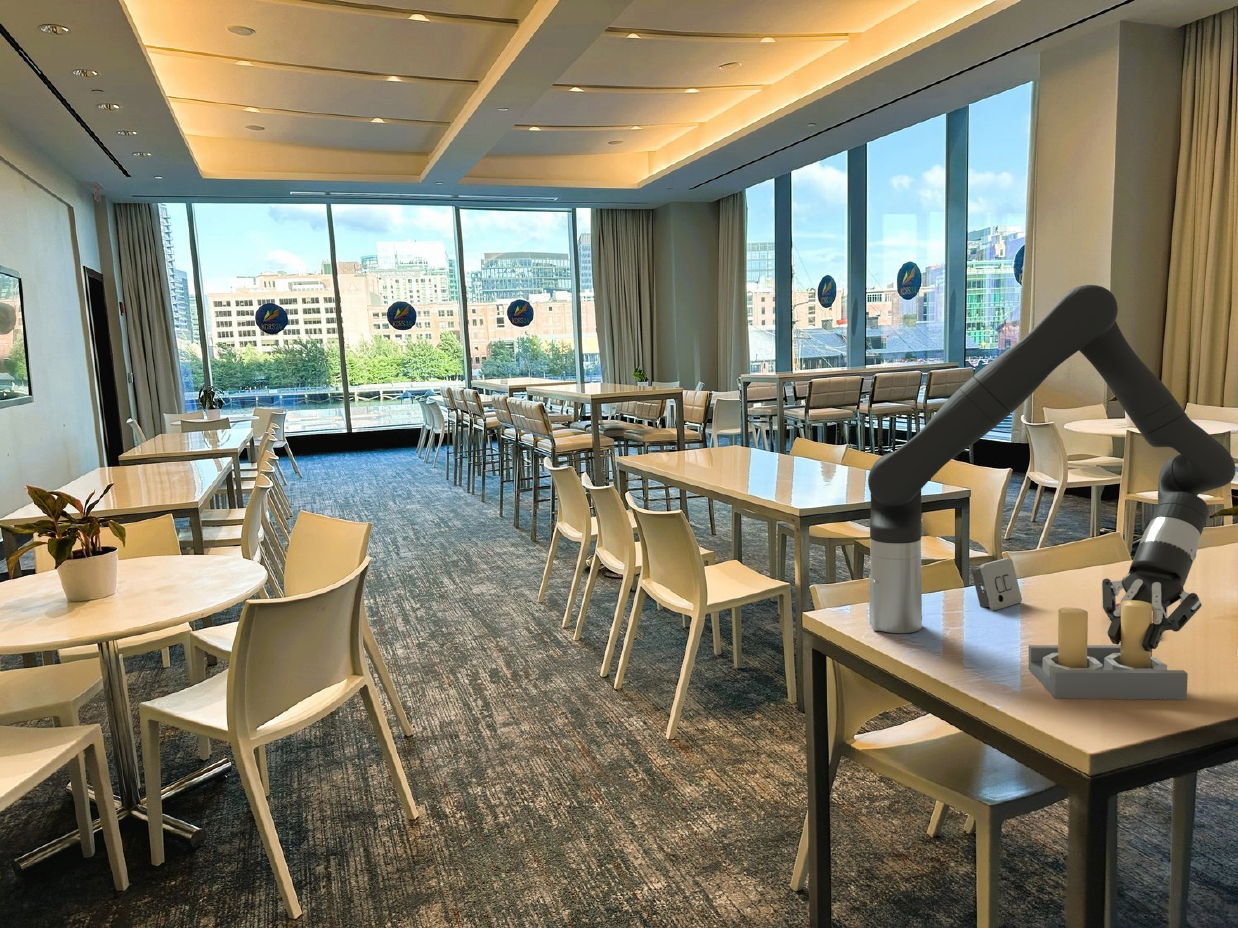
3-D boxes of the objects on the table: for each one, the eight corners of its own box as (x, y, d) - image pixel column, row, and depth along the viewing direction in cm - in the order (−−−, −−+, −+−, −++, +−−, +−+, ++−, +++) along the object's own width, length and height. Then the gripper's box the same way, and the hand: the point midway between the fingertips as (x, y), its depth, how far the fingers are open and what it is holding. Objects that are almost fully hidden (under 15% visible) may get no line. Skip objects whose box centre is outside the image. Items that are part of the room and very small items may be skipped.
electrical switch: (994, 612, 167) (990, 565, 166) (971, 608, 171) (967, 563, 171) (1023, 603, 171) (1019, 558, 171) (1000, 600, 176) (996, 556, 176)
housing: (1055, 698, 125) (1055, 623, 124) (1028, 668, 137) (1029, 600, 135) (1186, 699, 122) (1189, 623, 121) (1147, 669, 134) (1149, 599, 133)
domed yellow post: (1126, 672, 127) (1128, 607, 126) (1115, 662, 131) (1116, 600, 130) (1155, 672, 126) (1157, 607, 125) (1143, 662, 130) (1144, 600, 129)
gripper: (1110, 533, 136) (1073, 622, 131) (1211, 545, 125) (1175, 643, 119) (1124, 559, 140) (1088, 646, 134) (1224, 573, 129) (1189, 670, 123)
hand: (1130, 644), depth 127 cm, fingers closed on domed yellow post, 4 cm apart
